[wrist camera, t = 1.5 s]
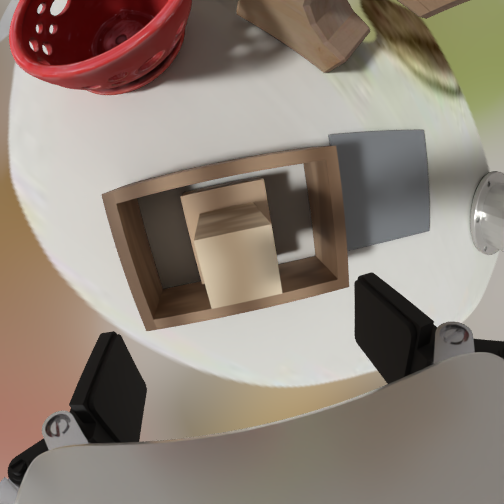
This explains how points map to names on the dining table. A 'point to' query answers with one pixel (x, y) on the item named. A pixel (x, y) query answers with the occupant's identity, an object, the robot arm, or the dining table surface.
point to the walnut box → (223, 196)
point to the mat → (383, 185)
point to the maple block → (237, 255)
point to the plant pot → (99, 42)
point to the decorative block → (322, 25)
